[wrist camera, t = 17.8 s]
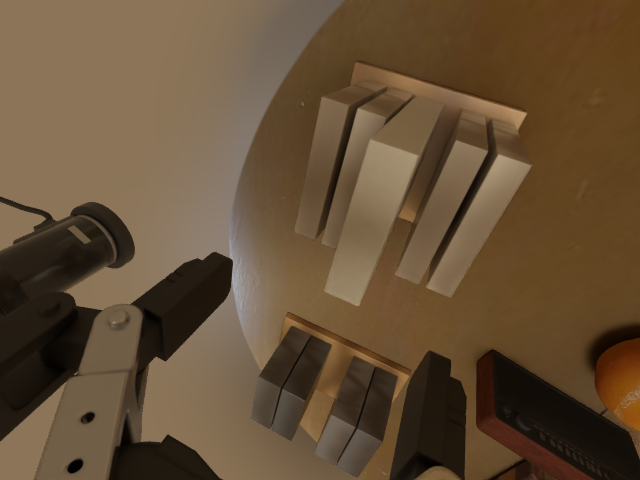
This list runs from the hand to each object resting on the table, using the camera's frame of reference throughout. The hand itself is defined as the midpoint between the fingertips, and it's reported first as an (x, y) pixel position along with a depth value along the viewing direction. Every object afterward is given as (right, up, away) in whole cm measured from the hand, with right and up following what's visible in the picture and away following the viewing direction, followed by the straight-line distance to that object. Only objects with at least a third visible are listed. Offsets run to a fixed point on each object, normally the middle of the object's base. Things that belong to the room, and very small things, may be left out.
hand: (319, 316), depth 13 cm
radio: (+25, -14, +25) cm, 38 cm away
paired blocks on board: (+3, -15, +36) cm, 40 cm away
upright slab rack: (+8, +11, +18) cm, 23 cm away
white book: (+8, +10, +17) cm, 22 cm away
